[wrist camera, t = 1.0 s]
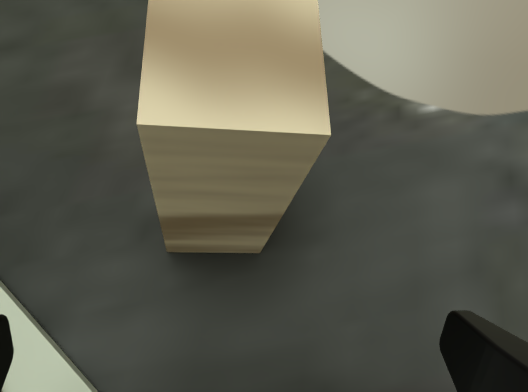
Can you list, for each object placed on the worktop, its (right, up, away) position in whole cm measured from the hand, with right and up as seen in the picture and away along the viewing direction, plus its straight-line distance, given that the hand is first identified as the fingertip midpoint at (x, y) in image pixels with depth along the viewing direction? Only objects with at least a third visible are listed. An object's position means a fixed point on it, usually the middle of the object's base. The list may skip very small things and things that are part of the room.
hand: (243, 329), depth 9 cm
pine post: (-2, +2, +15) cm, 15 cm away
